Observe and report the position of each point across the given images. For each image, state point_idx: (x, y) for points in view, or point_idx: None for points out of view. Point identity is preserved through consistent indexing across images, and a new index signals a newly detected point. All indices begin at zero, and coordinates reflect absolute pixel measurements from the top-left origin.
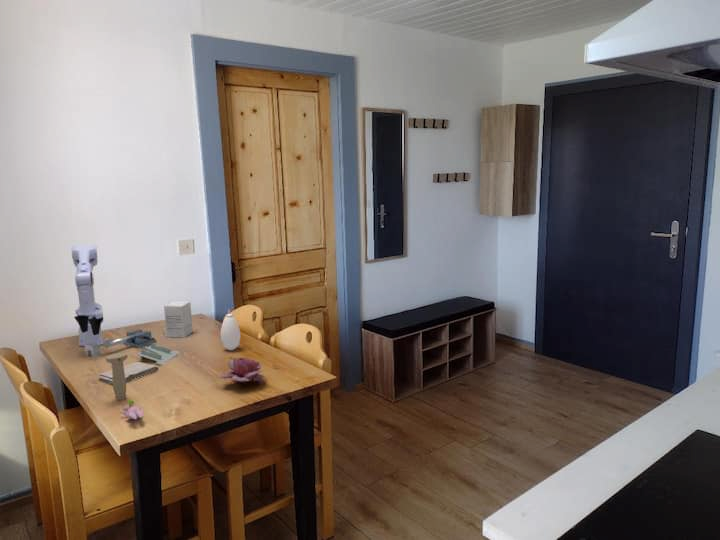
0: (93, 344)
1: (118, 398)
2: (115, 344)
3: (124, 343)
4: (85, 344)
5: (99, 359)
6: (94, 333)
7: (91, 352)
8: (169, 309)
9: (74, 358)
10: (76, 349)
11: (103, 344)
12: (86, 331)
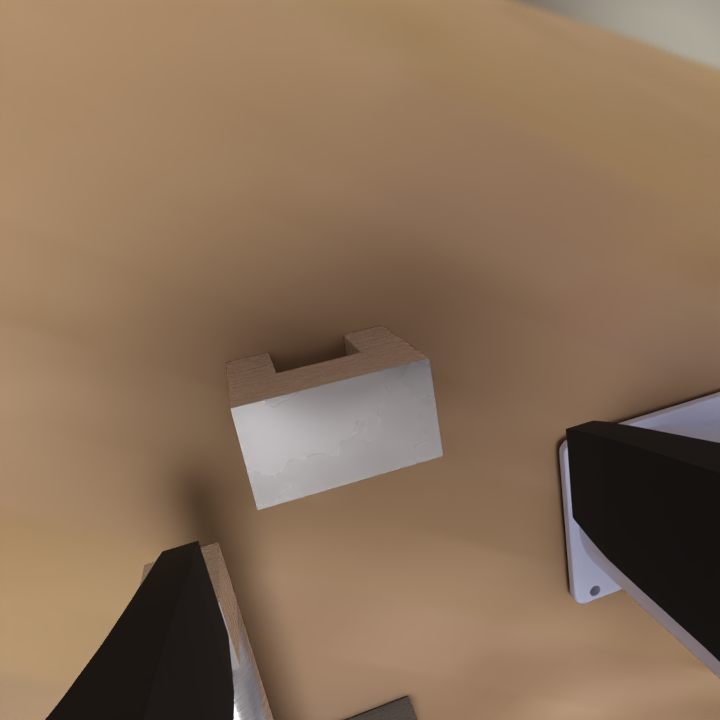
0: (328, 448)
1: None
2: None
3: (388, 717)
4: (424, 366)
5: (63, 378)
6: (152, 583)
7: (269, 367)
8: None
9: (359, 179)
10: (639, 323)
11: (211, 552)
12: (573, 499)
